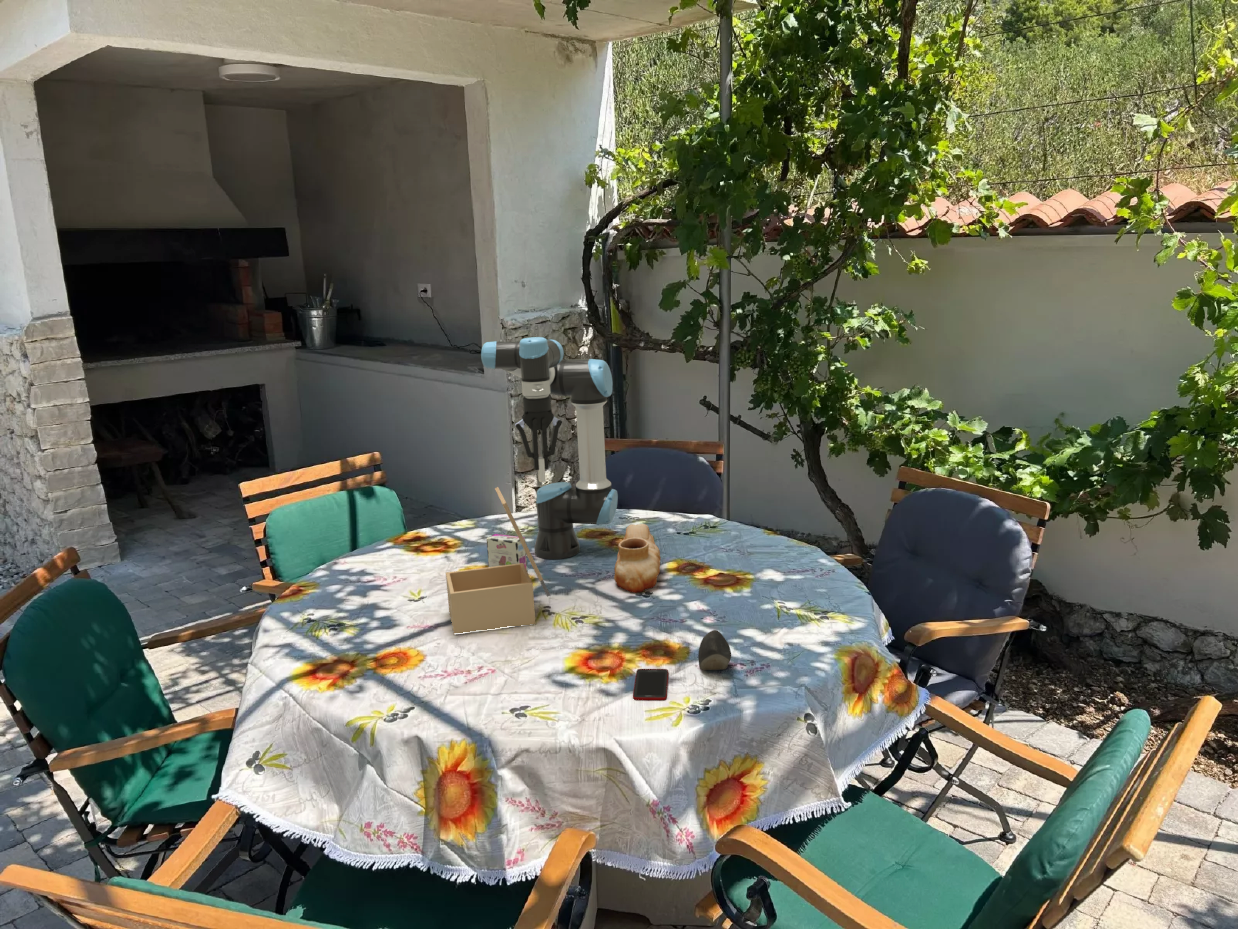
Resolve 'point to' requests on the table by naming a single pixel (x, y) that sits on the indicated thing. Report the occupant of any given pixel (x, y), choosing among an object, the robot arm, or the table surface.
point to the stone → (714, 652)
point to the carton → (490, 598)
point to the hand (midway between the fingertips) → (542, 480)
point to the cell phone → (651, 684)
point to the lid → (522, 541)
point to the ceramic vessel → (637, 560)
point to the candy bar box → (505, 550)
